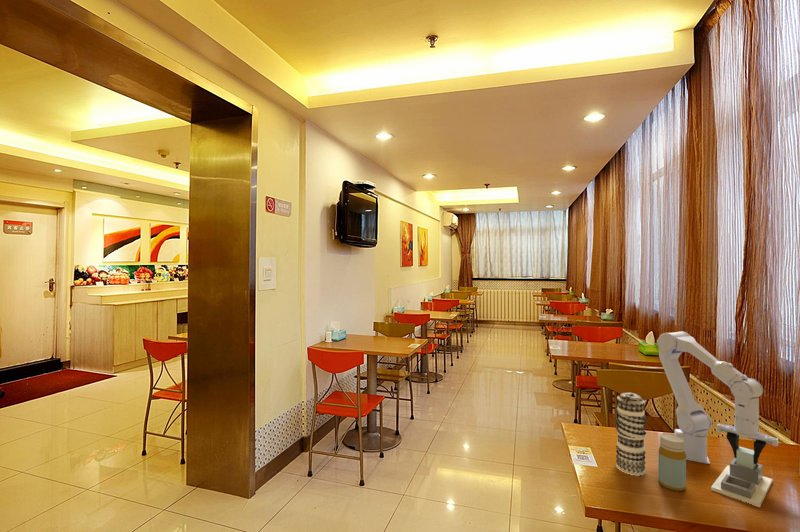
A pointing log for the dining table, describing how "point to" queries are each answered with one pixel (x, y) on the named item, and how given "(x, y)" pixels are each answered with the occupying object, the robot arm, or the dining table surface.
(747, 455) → the plug
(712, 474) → the dining table surface
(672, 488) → the bottle
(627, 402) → the decorative candle
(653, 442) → the dining table surface
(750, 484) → the board with square sockets
